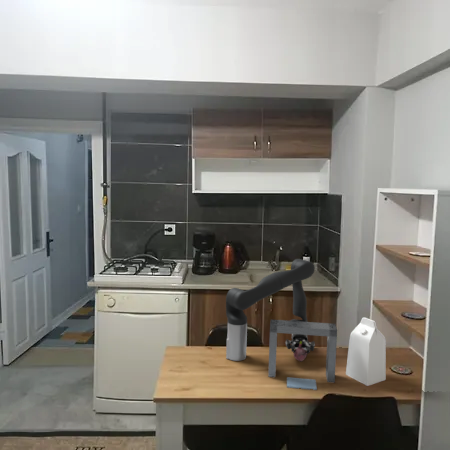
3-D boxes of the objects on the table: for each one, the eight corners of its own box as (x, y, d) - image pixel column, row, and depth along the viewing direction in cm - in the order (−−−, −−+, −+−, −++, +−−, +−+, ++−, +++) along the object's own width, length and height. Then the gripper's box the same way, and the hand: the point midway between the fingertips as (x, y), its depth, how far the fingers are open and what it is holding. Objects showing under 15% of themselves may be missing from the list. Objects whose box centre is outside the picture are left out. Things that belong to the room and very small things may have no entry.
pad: (286, 387, 174) (287, 385, 174) (286, 378, 182) (286, 377, 182) (316, 390, 172) (316, 388, 172) (315, 381, 180) (315, 379, 180)
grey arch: (268, 376, 183) (270, 325, 180) (269, 368, 191) (270, 319, 188) (334, 382, 179) (337, 330, 176) (332, 374, 187) (335, 323, 184)
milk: (385, 379, 183) (389, 321, 180) (367, 385, 177) (370, 325, 174) (363, 369, 193) (366, 313, 190) (345, 374, 187) (348, 317, 184)
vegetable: (296, 365, 192) (296, 344, 190) (291, 359, 197) (291, 339, 196) (309, 363, 193) (309, 342, 192) (303, 358, 199) (303, 337, 198)
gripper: (285, 329, 209) (285, 342, 193) (314, 331, 207) (317, 344, 191) (284, 343, 210) (284, 358, 193) (314, 346, 208) (316, 360, 191)
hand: (300, 351), depth 192 cm, fingers closed on vegetable, 5 cm apart
